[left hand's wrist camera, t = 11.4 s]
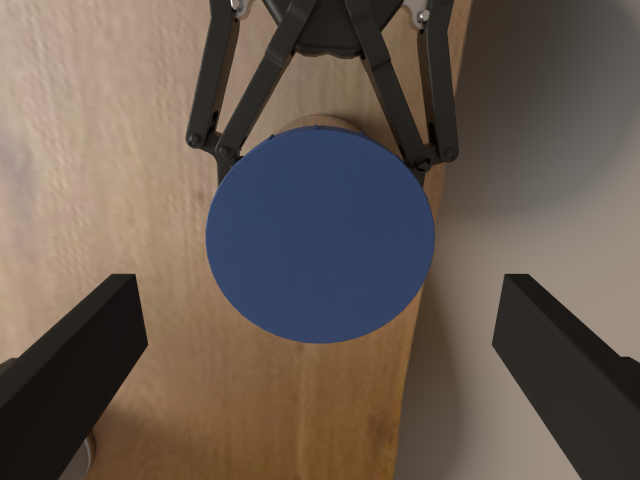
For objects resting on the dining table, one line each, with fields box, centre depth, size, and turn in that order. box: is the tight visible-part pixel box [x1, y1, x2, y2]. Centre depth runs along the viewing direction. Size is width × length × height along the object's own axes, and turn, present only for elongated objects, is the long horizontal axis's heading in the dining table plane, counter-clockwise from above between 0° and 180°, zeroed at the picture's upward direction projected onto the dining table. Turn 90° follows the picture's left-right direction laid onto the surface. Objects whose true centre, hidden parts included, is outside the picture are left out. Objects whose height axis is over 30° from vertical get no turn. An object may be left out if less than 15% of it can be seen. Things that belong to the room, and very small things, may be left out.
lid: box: [206, 124, 435, 343], centre depth 19 cm, size 11×10×2 cm
